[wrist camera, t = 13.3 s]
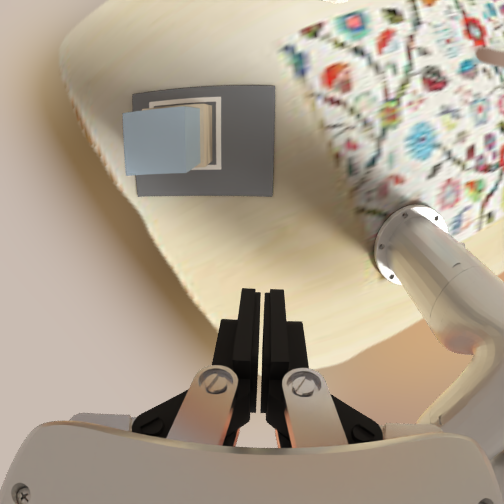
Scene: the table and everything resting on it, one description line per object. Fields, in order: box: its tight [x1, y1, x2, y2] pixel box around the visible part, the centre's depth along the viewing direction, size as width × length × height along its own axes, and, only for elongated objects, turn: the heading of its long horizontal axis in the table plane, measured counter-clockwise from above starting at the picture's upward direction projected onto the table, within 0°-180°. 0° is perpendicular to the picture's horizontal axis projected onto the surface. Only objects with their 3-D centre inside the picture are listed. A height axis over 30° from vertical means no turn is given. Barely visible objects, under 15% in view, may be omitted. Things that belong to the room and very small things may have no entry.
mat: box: [133, 85, 275, 197], centre depth 34 cm, size 18×14×1 cm
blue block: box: [123, 106, 200, 176], centre depth 27 cm, size 6×6×6 cm
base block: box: [142, 104, 212, 168], centre depth 32 cm, size 7×7×5 cm
